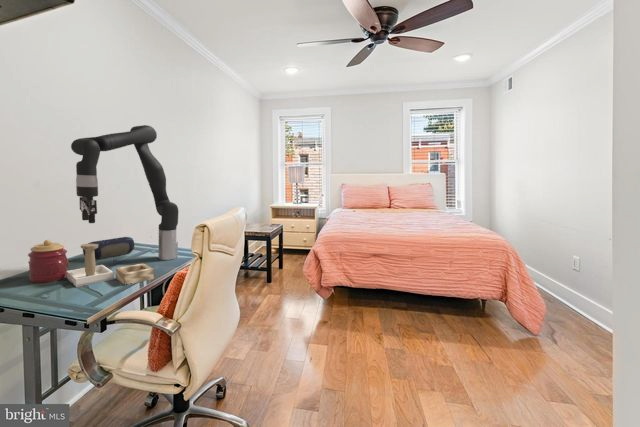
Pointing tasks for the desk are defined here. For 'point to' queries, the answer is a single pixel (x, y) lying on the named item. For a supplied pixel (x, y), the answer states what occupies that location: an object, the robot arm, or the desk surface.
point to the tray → (80, 277)
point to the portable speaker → (112, 247)
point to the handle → (89, 258)
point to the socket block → (134, 273)
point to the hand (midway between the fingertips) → (88, 221)
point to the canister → (47, 262)
